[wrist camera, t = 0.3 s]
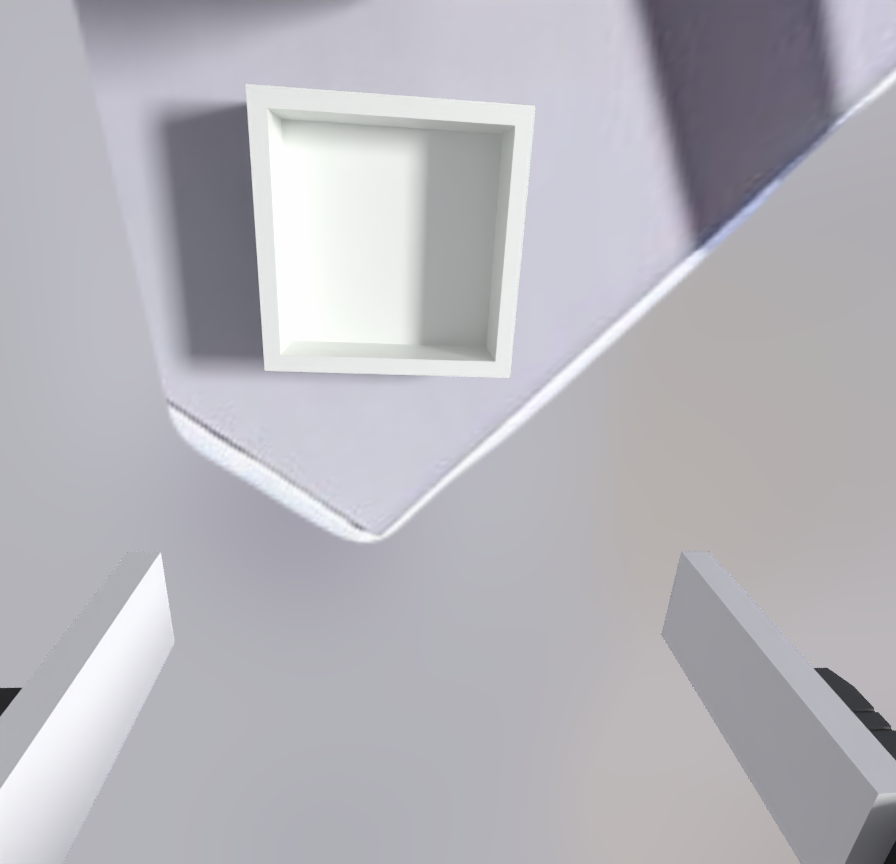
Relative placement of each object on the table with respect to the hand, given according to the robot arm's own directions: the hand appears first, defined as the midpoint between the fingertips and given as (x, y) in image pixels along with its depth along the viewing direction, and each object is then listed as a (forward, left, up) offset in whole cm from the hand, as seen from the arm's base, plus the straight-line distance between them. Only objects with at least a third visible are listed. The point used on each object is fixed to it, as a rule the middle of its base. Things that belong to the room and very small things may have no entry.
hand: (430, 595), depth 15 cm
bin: (-7, -1, -27) cm, 28 cm away
